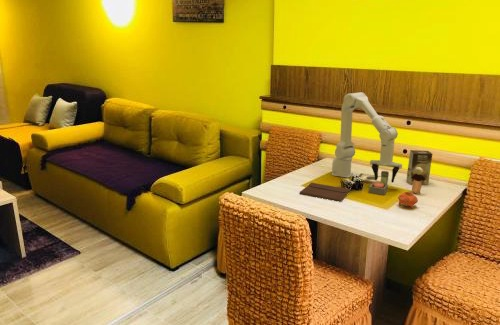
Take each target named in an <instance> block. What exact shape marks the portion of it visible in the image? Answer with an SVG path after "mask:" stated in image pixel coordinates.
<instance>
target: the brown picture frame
mask: <svg viewBox="0 0 500 325" xmlns="http://www.w3.org/2000/svg"><path fill="white" fill-rule="evenodd" d="M357 177H360V178H362V179H364V182H363V183H365V184H370V185H371V184H372V183H375V182H381V175H378V179H377V180H375V175H374V174H368V173H367V174H366V173H362V172H361V173H360V174H359V175H358V176H357Z"/></svg>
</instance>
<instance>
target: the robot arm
mask: <svg viewBox="0 0 500 325" xmlns="http://www.w3.org/2000/svg"><path fill="white" fill-rule="evenodd" d="M356 108H357V109H362V111H364V112H365V113H366V115H367V116H368V117H369V119H371V125H373V127H374V128H375V130H376V131H377V132H378V133H379V134H378V136H379V140H380V145H381V146H380V155H379V159H378V160H377V159H371V160H370V161H369V165H371V169H372V172H373V175H375V180H377V179H378V176H379V166H382V167H387V168H388V167H389V168H392V170H391V171H392V177H391V183H394V182H395V177H396V176H397V174H398V172H399V170H401V169H403V163H400V162H399V163H398V162H395V161H393V160H394V149H395V140H396V139H397V138H398V135H399V134H398V133H399V132H398V131H397V129H396V127H393V126H391V125H390V124H389V123H388V121H387V120H386V118H385V116H382V115H378V113H377V111H376V110H375V109H374V107H373V106H372V105H371V103H370V101H369V97H368V96H367V95H366V94H365V93H364V92H361V91H359V92H354V93H350V92H349V93H347V94H345V96H343V102H342V105H341V109H340V110H341V112H340V113H341V116H340V137H339V138H340V141H339V142H337V144H336V146H335V150H334V155H335V157H334V158H333V160H332V166H331V174H330V175H331V176H334V177H335V176H336V177H342V178H346V179H347V178H350V177H351V176H352V175H353V174H354V173H353V172H352V160H353V158H354V156H355V155H356V149H355V143H354V142H353V141H352V134H353V133H352V132H353V130H352V129H353V111H355V109H356Z"/></svg>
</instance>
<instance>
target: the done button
mask: <svg viewBox="0 0 500 325" xmlns="http://www.w3.org/2000/svg"><path fill="white" fill-rule="evenodd" d="M383 186H384V184H383V183H381V182H375V183H374V187H378V188H383Z"/></svg>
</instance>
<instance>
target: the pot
mask: <svg viewBox="0 0 500 325" xmlns="http://www.w3.org/2000/svg"><path fill="white" fill-rule="evenodd" d="M397 199H398V206H400V207H401V206H402V205H404V206H408V207H410V209H413V208H414V206H415V205H416V204H417V203H418V201H419V198H418V197H417V196H416V195H415V194H414V193H410V191H405V192H403V193H401V194H400V195H399V196H398V197H397Z"/></svg>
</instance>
